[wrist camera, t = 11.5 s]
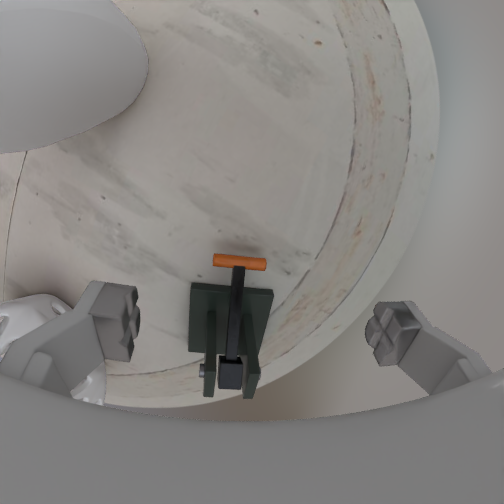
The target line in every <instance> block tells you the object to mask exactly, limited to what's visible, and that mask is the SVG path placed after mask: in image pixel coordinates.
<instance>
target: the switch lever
mask: <svg viewBox="0 0 504 504" xmlns="http://www.w3.org/2000/svg"><path fill="white" fill-rule="evenodd" d="M266 264H267V262H266V259H265V258H255V257H245V256H235V255H225V254H215V253H214V255H213V266H217V267H227V268H233V269H232V280H231V291H230V303H229V314H228V326H227V338H226V350H225V356H221V355H219V362H218V377H217V381H218V388H219V389H237V390H241V385H242V374H243V362H242V360H241V357H238V356H237V354H238V343H239V332H240V321H241V310H242V299H243V288H244V277H245V269H248V270H259V271H265V269H266Z"/></svg>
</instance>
